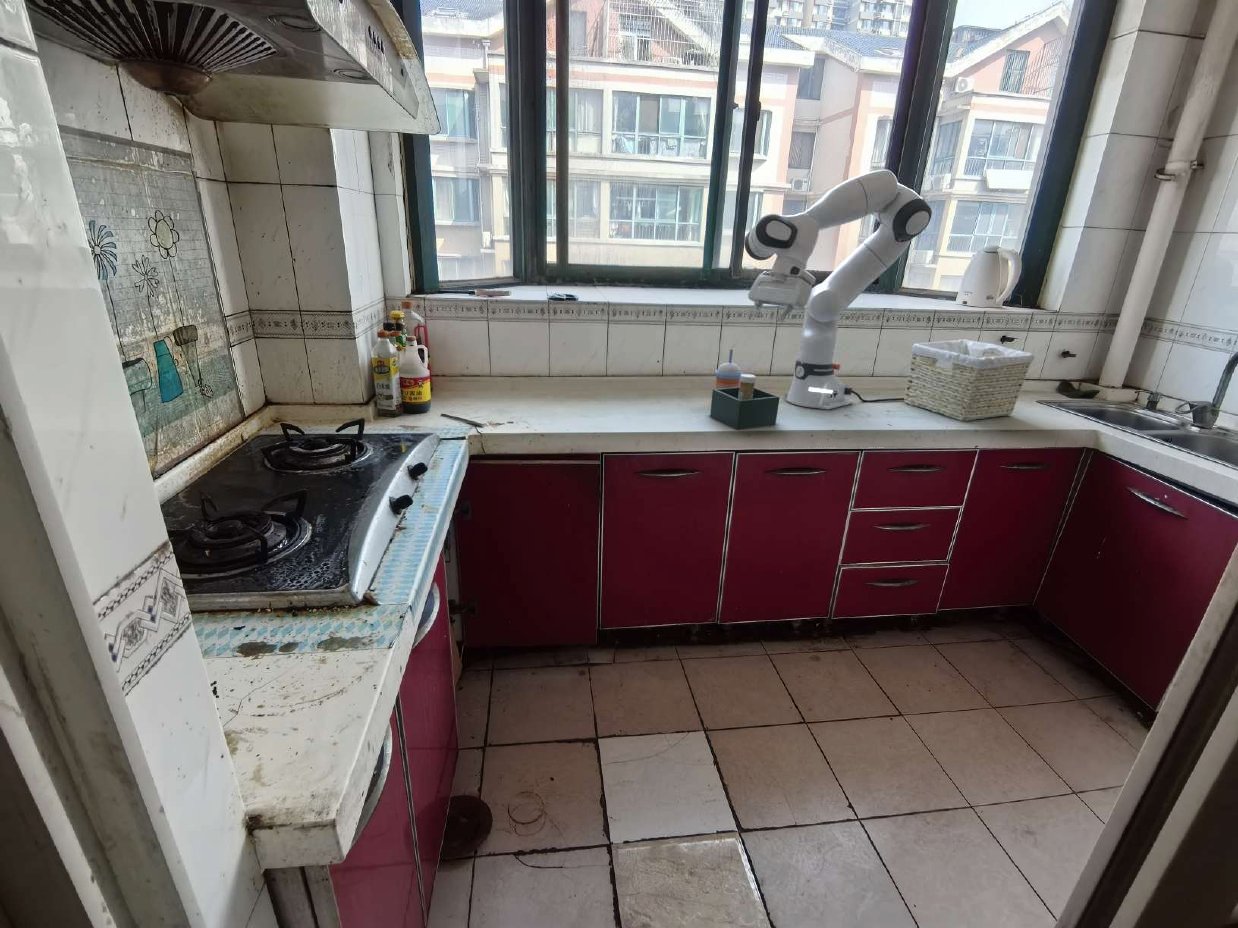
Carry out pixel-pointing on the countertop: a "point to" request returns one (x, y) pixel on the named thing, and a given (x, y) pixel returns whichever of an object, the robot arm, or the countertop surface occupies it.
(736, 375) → the cup with straw
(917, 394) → the basket
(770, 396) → the bin
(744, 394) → the sprinkles bottle
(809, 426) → the countertop surface
